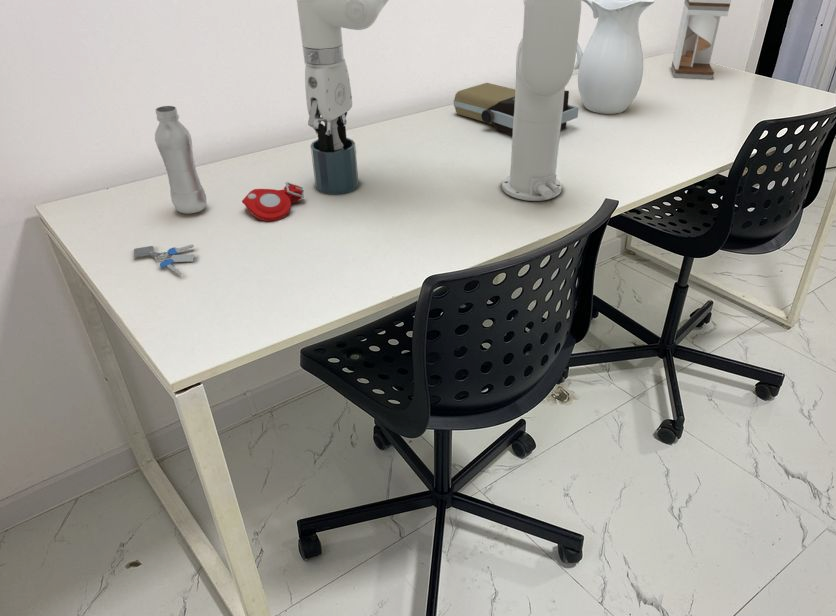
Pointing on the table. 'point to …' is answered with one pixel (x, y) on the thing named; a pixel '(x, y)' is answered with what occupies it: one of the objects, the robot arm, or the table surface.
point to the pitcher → (612, 56)
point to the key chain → (172, 251)
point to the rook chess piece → (335, 136)
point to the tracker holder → (272, 201)
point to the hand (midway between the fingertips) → (333, 147)
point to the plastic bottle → (179, 161)
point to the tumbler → (335, 169)
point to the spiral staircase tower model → (697, 38)
